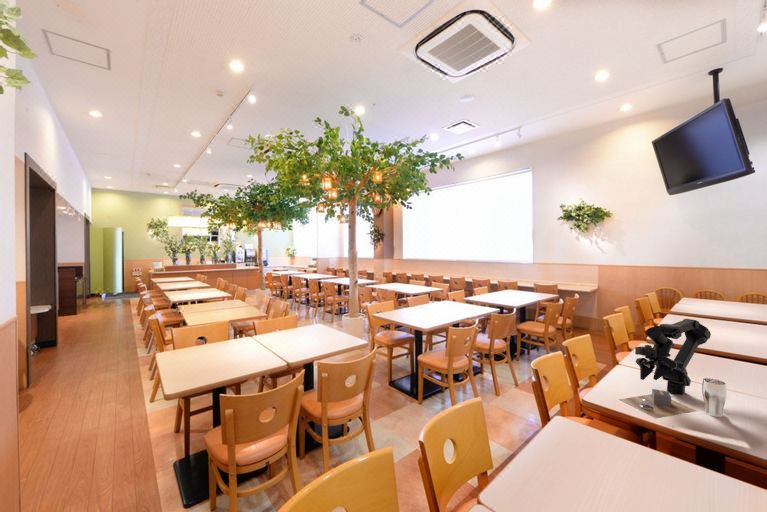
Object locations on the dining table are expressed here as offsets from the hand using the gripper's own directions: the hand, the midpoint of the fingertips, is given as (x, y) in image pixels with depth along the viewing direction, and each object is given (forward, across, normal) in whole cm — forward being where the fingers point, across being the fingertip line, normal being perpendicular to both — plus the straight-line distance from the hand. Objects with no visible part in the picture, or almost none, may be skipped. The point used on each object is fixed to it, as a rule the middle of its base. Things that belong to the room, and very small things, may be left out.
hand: (647, 379), depth 140 cm
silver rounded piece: (+11, 0, +3) cm, 12 cm away
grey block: (+5, -4, +10) cm, 12 cm away
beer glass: (+1, +2, +24) cm, 24 cm away
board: (+9, -3, +8) cm, 12 cm away
